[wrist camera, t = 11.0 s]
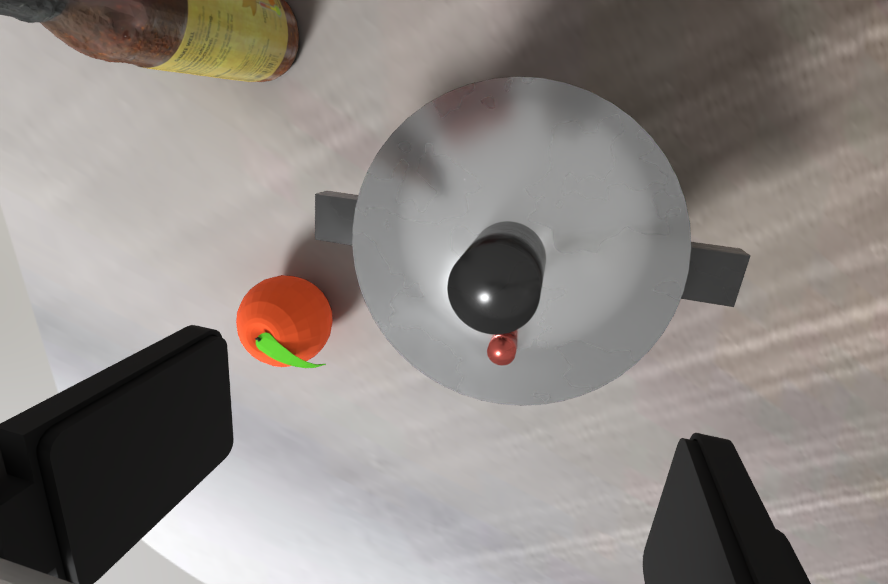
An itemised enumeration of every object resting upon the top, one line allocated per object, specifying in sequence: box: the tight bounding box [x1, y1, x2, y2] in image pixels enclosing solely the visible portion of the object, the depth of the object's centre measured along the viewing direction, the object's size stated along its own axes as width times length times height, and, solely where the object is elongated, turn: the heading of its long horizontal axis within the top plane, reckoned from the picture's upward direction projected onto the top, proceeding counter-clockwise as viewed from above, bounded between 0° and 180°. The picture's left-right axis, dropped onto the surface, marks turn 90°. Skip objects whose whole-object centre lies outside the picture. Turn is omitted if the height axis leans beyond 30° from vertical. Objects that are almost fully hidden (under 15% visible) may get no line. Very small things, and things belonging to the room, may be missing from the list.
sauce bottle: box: [0, 0, 299, 82], centre depth 25 cm, size 6×6×20 cm
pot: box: [315, 191, 750, 307], centre depth 29 cm, size 22×16×10 cm
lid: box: [353, 77, 691, 406], centre depth 22 cm, size 16×16×6 cm
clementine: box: [236, 275, 332, 368], centre depth 37 cm, size 8×7×7 cm
